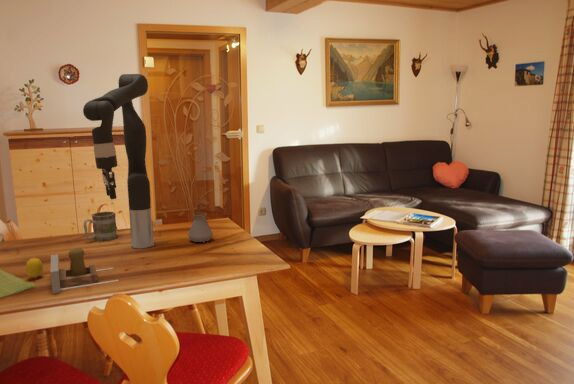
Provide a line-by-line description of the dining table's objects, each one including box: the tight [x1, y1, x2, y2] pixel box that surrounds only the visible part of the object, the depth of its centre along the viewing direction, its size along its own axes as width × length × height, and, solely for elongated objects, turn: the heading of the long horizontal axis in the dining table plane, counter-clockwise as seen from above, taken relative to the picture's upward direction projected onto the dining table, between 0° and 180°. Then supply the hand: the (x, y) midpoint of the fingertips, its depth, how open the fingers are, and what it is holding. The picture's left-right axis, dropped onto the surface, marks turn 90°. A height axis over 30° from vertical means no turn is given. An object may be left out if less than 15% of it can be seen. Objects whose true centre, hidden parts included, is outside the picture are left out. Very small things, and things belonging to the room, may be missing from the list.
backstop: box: [49, 253, 119, 295], centre depth 171 cm, size 21×20×8 cm
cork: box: [68, 247, 87, 277], centre depth 170 cm, size 6×6×11 cm
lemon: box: [25, 257, 44, 279], centre depth 173 cm, size 6×6×8 cm
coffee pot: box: [187, 202, 214, 243], centre depth 224 cm, size 21×12×15 cm, turn 12°
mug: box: [83, 211, 118, 243], centre depth 222 cm, size 16×11×12 cm
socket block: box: [60, 264, 99, 289], centre depth 171 cm, size 12×12×3 cm
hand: (111, 197), depth 181 cm, fingers open, 8 cm apart
